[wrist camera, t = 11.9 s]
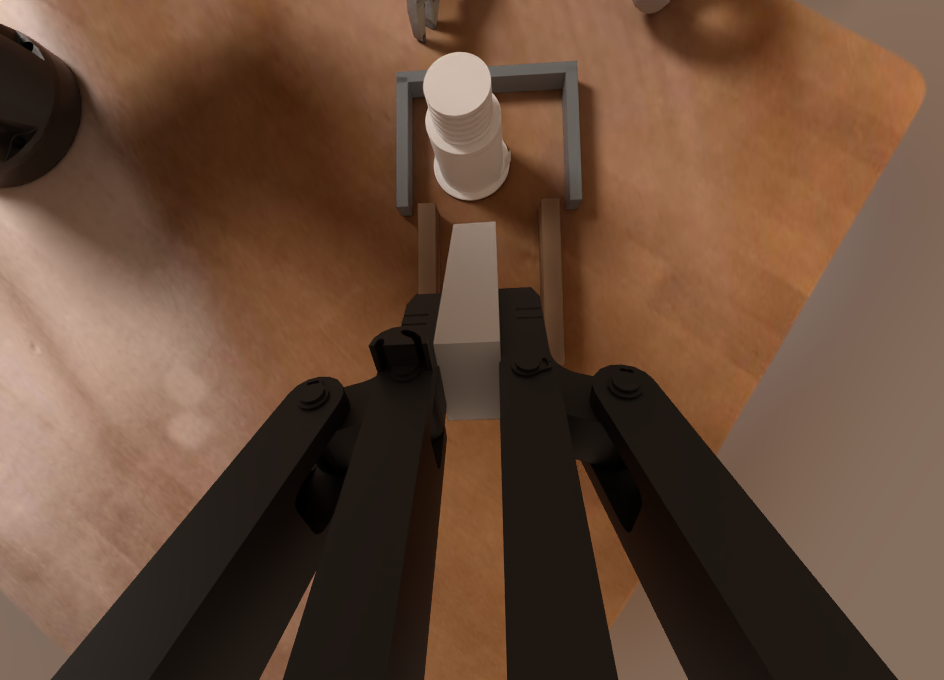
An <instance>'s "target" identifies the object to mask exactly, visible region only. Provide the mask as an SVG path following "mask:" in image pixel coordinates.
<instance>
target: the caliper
mask: <svg viewBox="0 0 944 680" xmlns="http://www.w3.org/2000/svg"><path fill="white" fill-rule="evenodd" d="M438 8H439V0H407V9H408V14H409V19H410V23H411V27H412V31H413V35H414V37H415V38H417V39H418V40H420V41H422V42H425V41H426V32H425V26H427V27H428V28H430V29H432V30H434V29H435V27H436V25H437V16H438Z"/></svg>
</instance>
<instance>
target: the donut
mask: <svg viewBox="0 0 944 680" xmlns="http://www.w3.org/2000/svg"><path fill="white" fill-rule="evenodd" d="M670 1H671V0H633V2H634V5H635V6H636V7H637V8H638V9H639V10H640V11H641V12H643V13H646V14H651V13H655V12H657V11H660V10H661V9H662V8H663V7H664V6H666V5H667V4H668V3H669V2H670Z"/></svg>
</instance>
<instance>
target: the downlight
mask: <svg viewBox="0 0 944 680" xmlns="http://www.w3.org/2000/svg"><path fill="white" fill-rule="evenodd" d="M423 91H424V95H425V98H426V102H427V105H428V109H427V113H426V119H425V123H426V129H427V133H428V135H429V138H430V141H431V144H432V147H433V150H434V153H435V158H434V173H435V176H436V179H437V181H438V183H439V185H440V186H441V187H442V189H443V190H444V191H445V192H447V193H448V194H449V195H451V196H453V197H455V198H457V199H461V200H478V199H482V198H485V197H487V196H489V195H491V194H492V193H494V192H495V191H496V190H497V189H498V188H499V187H500V186H501V185H502V184H503V182H504V181H505V179H506V177H507V175H508V172H509V166H510V161H511V150H510V151H509V152H508V149H507V147H506V145H505V143H504V142H503V140H502V114H501V107H500V104H499V102H498V100H497V98H496V97H495V95H494V94H493V93H492V87H491V76H490V72H489V69H488V67H487V66H486V64H485V63H484V62H483V61H482V60H481V59H480V58H479V57H477V56H475V55H473V54H470V53H466V52H454V53H450V54H447V55H444V56H442V57H441V58H439V59H438V60H436V61H435V62H434V63H433V64H432V65H431V66H430V68H429V69H428V71H427V73H426V75H425V78H424V83H423Z"/></svg>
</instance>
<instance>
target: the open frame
mask: <svg viewBox="0 0 944 680" xmlns="http://www.w3.org/2000/svg"><path fill="white" fill-rule="evenodd" d="M487 67H488V69H489V72H490V76H491V87H492V93H503V92H520V91H537V90H554V89H562V107H563V136H564V165H565V194H566V210H567V209H578V207H579V205H580V203H581V201H582V179H581V153H580V126H579V100H578V74H577V61H566V62H551V63H535V64H519V65H503V66H487ZM427 71H428V70H423V71H407V72H397V148H396V207H397V209H398V210H399V212H400V214H401V215H402V216H413V126H412V98H417V97H425V95H424V91H423V83H424V78H425V75H426V73H427Z"/></svg>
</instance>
